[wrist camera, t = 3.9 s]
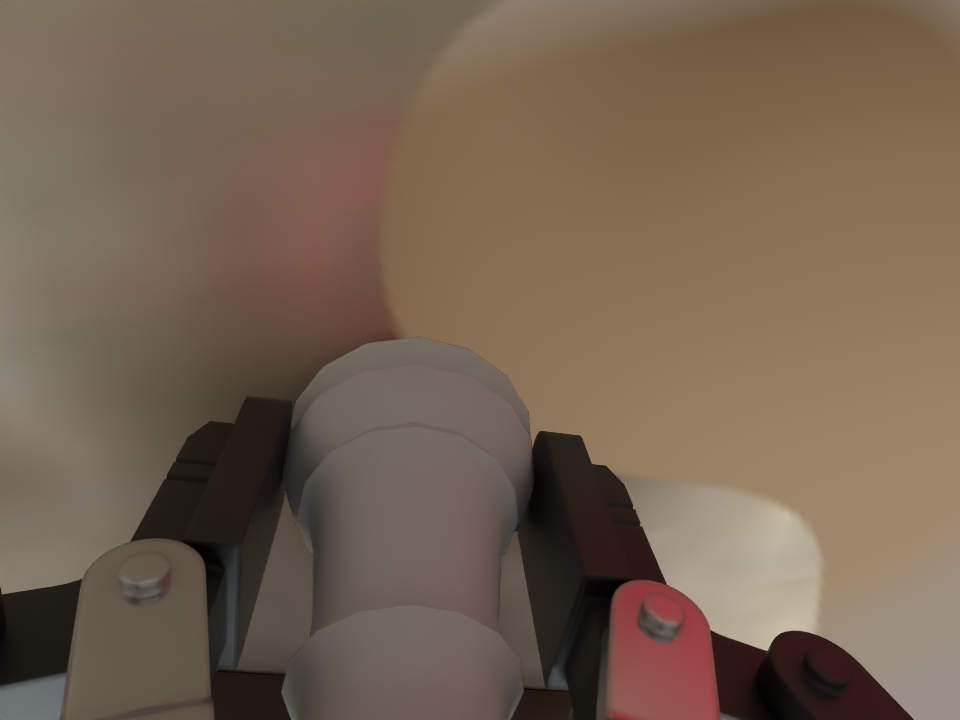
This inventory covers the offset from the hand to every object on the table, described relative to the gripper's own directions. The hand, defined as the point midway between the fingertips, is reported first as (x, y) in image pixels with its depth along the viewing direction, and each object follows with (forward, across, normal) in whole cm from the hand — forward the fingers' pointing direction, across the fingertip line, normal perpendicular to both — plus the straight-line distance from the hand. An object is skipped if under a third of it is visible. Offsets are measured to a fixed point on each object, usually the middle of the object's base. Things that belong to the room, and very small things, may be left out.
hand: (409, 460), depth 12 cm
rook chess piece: (+1, 0, 0) cm, 1 cm away
